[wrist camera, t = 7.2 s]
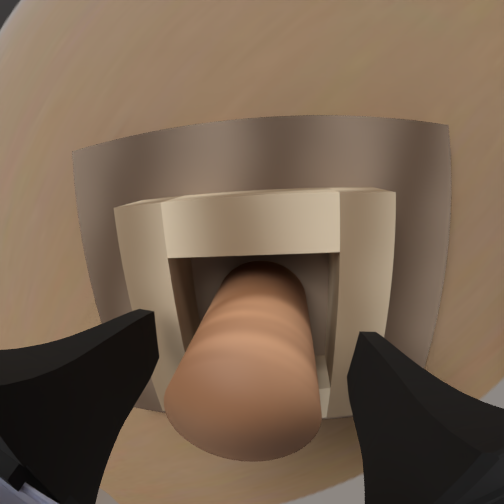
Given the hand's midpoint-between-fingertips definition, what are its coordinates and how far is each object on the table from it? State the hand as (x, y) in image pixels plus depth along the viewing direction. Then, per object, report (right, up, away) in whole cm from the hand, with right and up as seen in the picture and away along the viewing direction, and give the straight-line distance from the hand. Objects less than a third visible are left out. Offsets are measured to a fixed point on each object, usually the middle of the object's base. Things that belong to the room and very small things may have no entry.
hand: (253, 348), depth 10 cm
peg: (0, +1, +3) cm, 4 cm away
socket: (0, +1, +4) cm, 5 cm away
